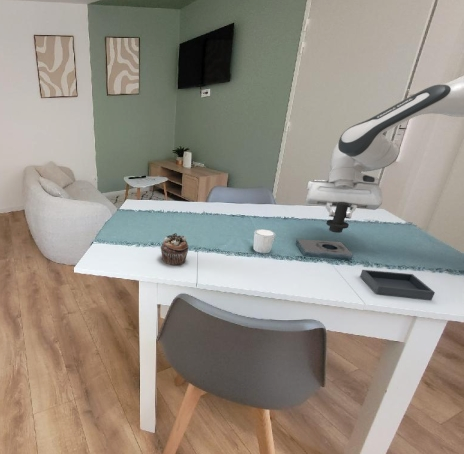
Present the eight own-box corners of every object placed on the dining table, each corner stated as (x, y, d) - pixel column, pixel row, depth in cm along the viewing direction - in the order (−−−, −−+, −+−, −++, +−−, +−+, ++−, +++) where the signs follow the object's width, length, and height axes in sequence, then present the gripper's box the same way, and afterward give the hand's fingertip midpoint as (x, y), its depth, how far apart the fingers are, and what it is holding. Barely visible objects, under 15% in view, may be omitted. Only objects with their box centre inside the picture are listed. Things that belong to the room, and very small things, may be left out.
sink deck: (338, 246, 107) (340, 241, 106) (351, 259, 98) (353, 254, 97) (295, 243, 111) (296, 238, 110) (304, 256, 102) (305, 251, 101)
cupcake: (192, 257, 105) (194, 232, 101) (180, 269, 98) (181, 243, 94) (168, 251, 111) (169, 227, 107) (155, 261, 104) (155, 236, 100)
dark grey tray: (409, 281, 86) (412, 274, 85) (431, 300, 78) (435, 292, 77) (359, 276, 89) (362, 269, 88) (376, 294, 81) (378, 286, 80)
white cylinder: (272, 247, 109) (276, 230, 106) (271, 255, 104) (275, 237, 101) (252, 244, 112) (255, 227, 110) (250, 251, 107) (253, 234, 104)
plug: (342, 227, 102) (349, 200, 98) (349, 234, 97) (358, 206, 93) (322, 226, 104) (329, 200, 100) (328, 233, 99) (336, 205, 95)
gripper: (309, 174, 104) (304, 208, 100) (385, 178, 94) (383, 216, 90) (306, 183, 109) (301, 216, 105) (378, 188, 99) (375, 225, 95)
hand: (339, 216), depth 98 cm, fingers closed on plug, 3 cm apart
